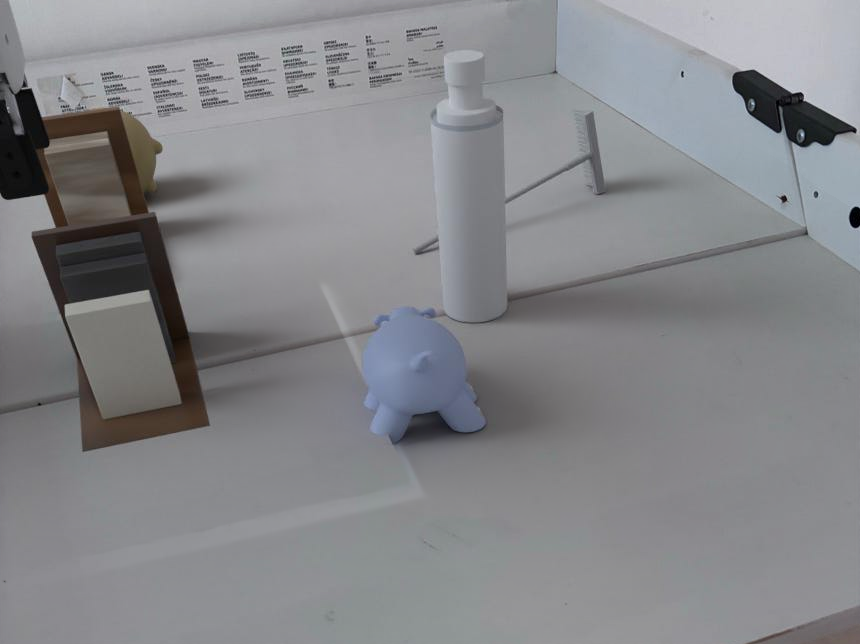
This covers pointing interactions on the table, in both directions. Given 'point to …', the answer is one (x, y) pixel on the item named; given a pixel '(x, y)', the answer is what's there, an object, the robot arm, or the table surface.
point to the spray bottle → (470, 193)
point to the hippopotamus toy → (417, 374)
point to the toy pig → (142, 150)
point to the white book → (123, 353)
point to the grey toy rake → (566, 164)
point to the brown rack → (115, 275)
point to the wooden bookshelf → (90, 168)
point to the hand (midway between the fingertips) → (28, 171)
